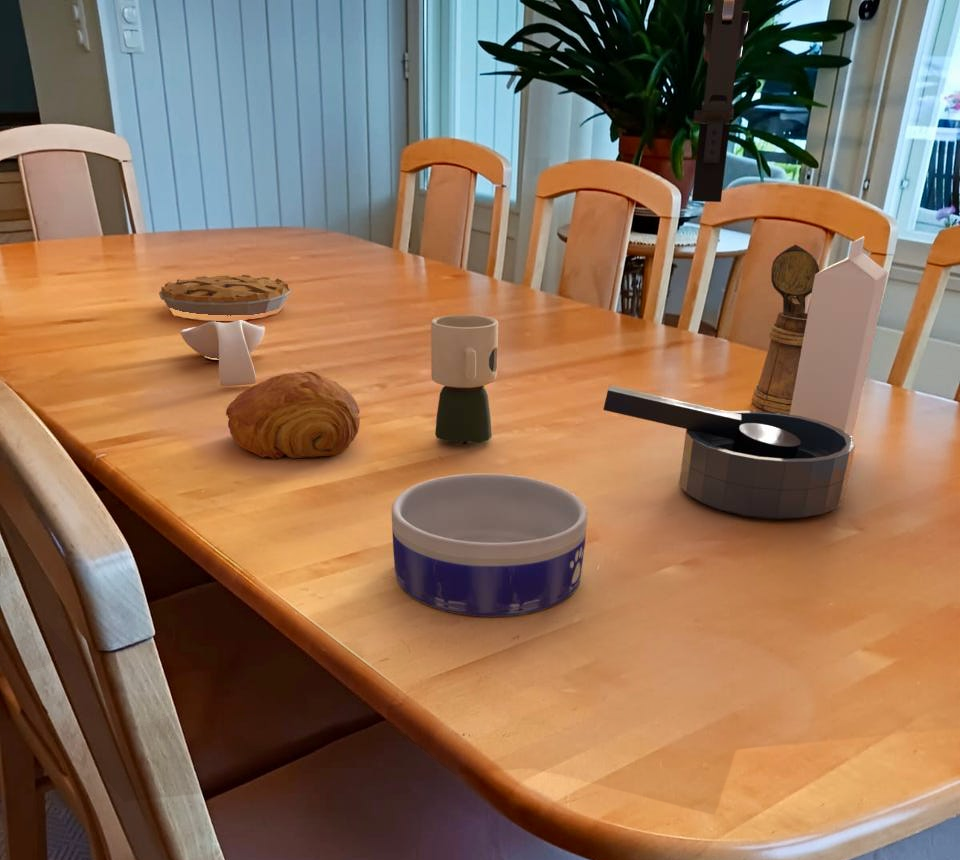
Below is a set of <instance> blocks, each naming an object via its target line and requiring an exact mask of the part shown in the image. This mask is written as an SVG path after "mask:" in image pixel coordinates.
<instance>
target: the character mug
mask: <svg viewBox="0 0 960 860" xmlns="http://www.w3.org/2000/svg"><path fill="white" fill-rule="evenodd" d="M430 332H431V333H430V351H431V352H430V355H431V357H430V360H431V361H430V363H431V366H430V368H431V369H430V371H431V373H430V375H431V380H432V381H433V382H434V383H436V384H438V385H441V386H443V387H442V388H441V390H440V392H439V396H438V405H437V411H436V419H435V420H436V421H435V430H434V431H435V433H434V435H435V438H436V439H439V440H441V441H447V442H457V443H458V442H459V443H462V445H464V446H467V445H468V443H476V444H478V443H479V444H480V443H484V442H488V441H489V440H490V439H491V438H492V435H493V434H492V421H491V420H492V419H491V411H490V410H491V409H490V403H489V395H488V393H487V391H486V386H488V385H489V384H492V383H495V381H496V380H497V376H498V355H499V354H498V351H499V350H498V349H499V347H498V345H499V321H498V319H495V318H493V317H488V316H484V315H477V314H476V315H475V314H448V315H442V316H437V317H435V318H432V320H431V323H430Z"/></svg>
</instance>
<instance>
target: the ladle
mask: <svg viewBox="0 0 960 860" xmlns="http://www.w3.org/2000/svg"><path fill="white" fill-rule="evenodd" d="M603 411H606V412H610V413H615V414H619V415H622V416H623V415H624V416H627V417H632V418H637V419H641V420H645V421H650V422H653V423H658V424H663V425H667V426H671V427H676V428H680V429H684V430H686V429H689V430H693V431H697V432H702V433H706V434H711V435H715V436H719V437H724V438H728V439H732V440H734V443H733V446H732V450H731V451H732V452H737V453H742V454H748V455H753V456H758V457H768V458H780V459H795V458H796V455H797V452H798V449H799V446H800V440H799V439H798V438H797V437H796V436H795V435H793V434H791V433H789V432H787V431H785V430H782V429H779V428H776V427H772V426H768V425H763V424H756V423H746V424H741V414H736V413H732V412H727V411H728V410H722V409H718V408H713V407H709V406H705V405H700V404H695V403H691V402H688V401H682V400H678V399H674V398H670V397H665V396H660V395H656V394H651V393H647V392H642V391H638V390H634V389H629V388H625V387H620V386H616V385H611V384H610V385H609V387H608V389H607V392H606V396H605V400H604V404H603ZM740 424H741V425H740Z"/></svg>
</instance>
